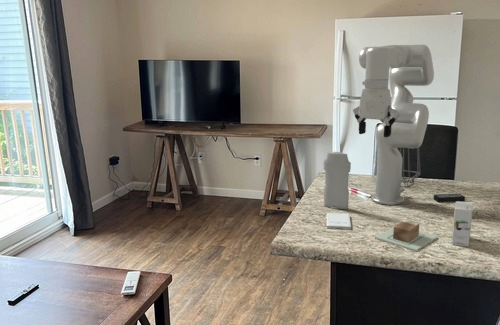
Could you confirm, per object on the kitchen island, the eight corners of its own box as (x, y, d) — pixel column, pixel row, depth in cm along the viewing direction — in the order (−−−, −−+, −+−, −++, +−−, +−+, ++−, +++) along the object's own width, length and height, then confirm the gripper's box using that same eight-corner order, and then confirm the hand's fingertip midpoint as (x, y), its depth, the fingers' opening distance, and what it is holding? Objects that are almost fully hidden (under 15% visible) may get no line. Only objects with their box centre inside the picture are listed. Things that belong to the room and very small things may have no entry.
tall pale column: (320, 206, 174) (321, 151, 169) (324, 203, 178) (325, 149, 172) (347, 210, 169) (349, 154, 164) (350, 207, 173) (352, 151, 167)
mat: (397, 226, 153) (397, 225, 153) (437, 238, 143) (437, 236, 143) (374, 238, 144) (375, 236, 143) (416, 251, 134) (416, 249, 133)
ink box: (452, 234, 145) (455, 200, 143) (469, 237, 143) (472, 202, 140) (451, 244, 138) (454, 208, 135) (469, 247, 136) (472, 210, 133)
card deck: (393, 238, 142) (393, 226, 141) (403, 231, 148) (404, 219, 147) (408, 242, 138) (409, 230, 137) (418, 235, 144) (419, 222, 143)
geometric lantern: (408, 191, 192) (411, 109, 184) (376, 184, 203) (377, 107, 195) (426, 183, 202) (429, 105, 194) (394, 177, 213) (396, 104, 205)
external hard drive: (349, 217, 163) (351, 230, 152) (326, 217, 165) (326, 229, 153) (349, 213, 163) (351, 226, 151) (326, 212, 164) (326, 225, 153)
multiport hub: (432, 199, 181) (433, 194, 180) (459, 198, 182) (459, 193, 181) (438, 203, 176) (438, 197, 176) (465, 202, 177) (465, 196, 177)
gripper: (348, 84, 154) (346, 133, 158) (394, 86, 142) (391, 139, 146) (360, 83, 159) (358, 131, 163) (406, 85, 147) (403, 136, 151)
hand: (374, 135), depth 154 cm, fingers open, 9 cm apart
